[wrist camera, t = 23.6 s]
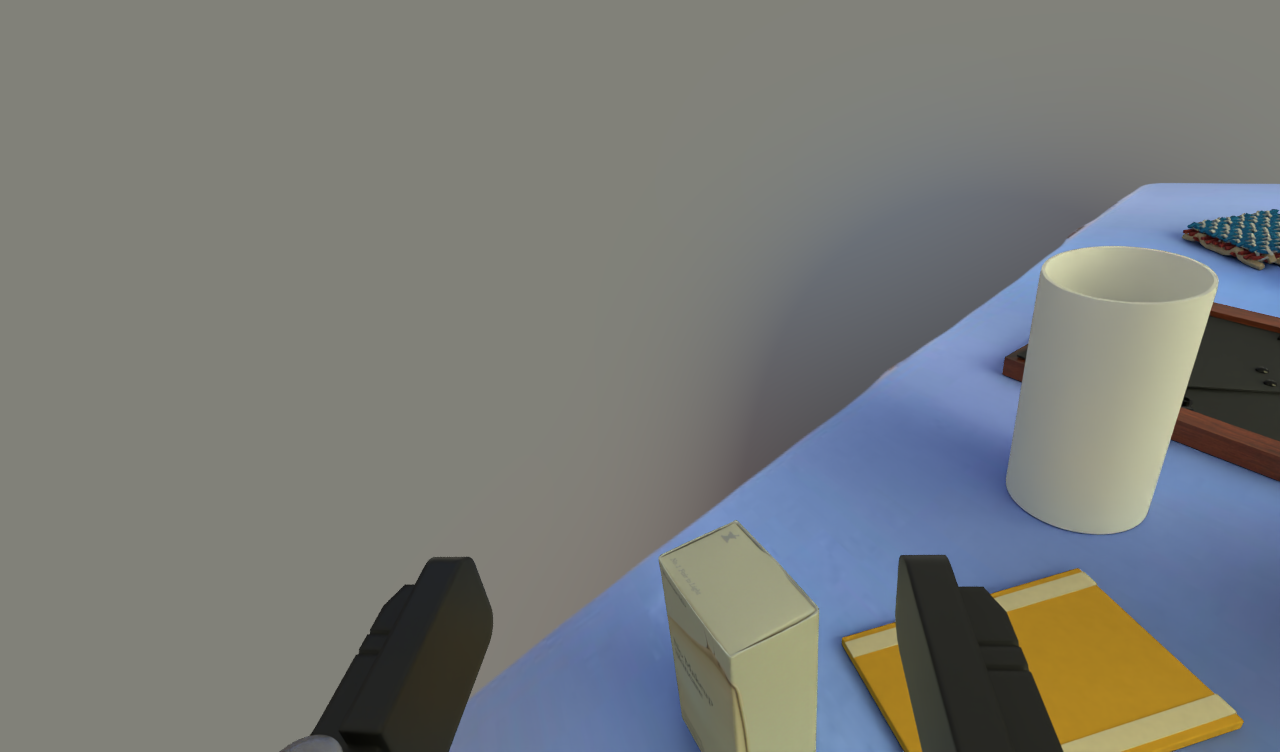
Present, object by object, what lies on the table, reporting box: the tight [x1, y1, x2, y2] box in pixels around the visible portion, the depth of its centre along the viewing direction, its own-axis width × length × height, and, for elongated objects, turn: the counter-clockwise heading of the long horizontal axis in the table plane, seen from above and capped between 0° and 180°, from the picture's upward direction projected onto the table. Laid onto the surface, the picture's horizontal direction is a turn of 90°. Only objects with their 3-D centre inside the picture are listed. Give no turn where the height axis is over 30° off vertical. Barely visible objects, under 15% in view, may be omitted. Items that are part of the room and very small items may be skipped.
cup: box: [1006, 246, 1218, 534], centre depth 42 cm, size 8×8×16 cm
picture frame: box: [1002, 302, 1280, 481], centre depth 53 cm, size 20×2×25 cm
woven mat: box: [1182, 209, 1280, 270], centre depth 72 cm, size 10×11×2 cm
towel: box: [842, 568, 1244, 752], centre depth 35 cm, size 15×10×1 cm, turn 102°
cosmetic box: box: [659, 520, 819, 752], centre depth 31 cm, size 6×4×12 cm
